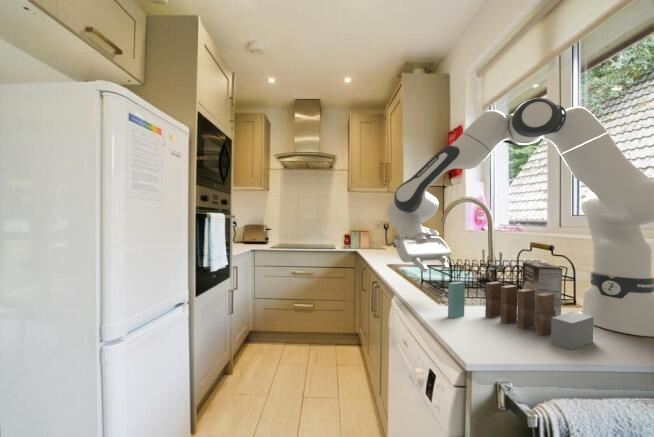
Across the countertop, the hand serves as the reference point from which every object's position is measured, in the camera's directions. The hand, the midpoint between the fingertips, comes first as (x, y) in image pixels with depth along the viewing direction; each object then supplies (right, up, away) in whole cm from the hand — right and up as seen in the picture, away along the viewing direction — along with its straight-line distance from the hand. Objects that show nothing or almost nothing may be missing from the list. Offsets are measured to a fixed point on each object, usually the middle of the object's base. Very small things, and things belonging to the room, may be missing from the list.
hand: (436, 269), depth 90 cm
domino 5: (+21, -13, -18) cm, 30 cm away
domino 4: (+19, -13, -14) cm, 27 cm away
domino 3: (+17, -13, -10) cm, 23 cm away
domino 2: (+15, -13, -6) cm, 20 cm away
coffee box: (+27, -13, -9) cm, 31 cm away
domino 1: (+3, -13, -7) cm, 15 cm away
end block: (+23, -13, -23) cm, 35 cm away
